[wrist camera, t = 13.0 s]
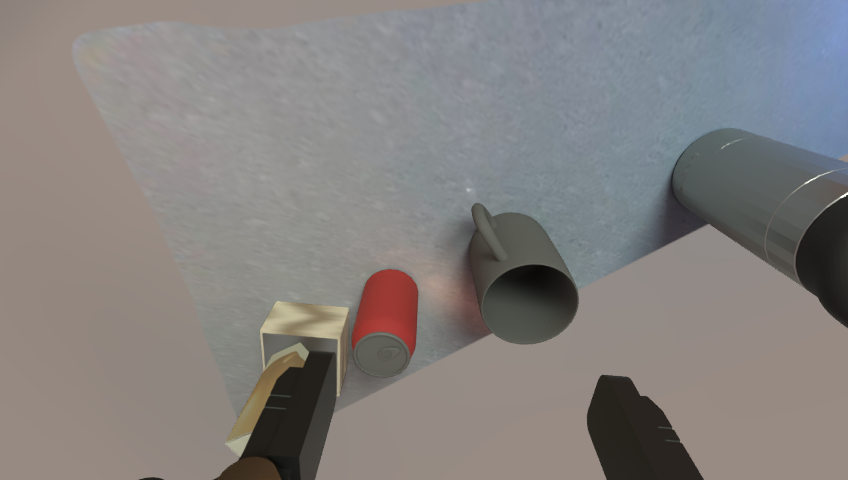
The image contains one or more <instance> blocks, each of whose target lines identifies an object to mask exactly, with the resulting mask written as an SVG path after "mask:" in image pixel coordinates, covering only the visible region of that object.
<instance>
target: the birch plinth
mask: <svg viewBox="0 0 848 480" xmlns="http://www.w3.org/2000/svg"><path fill="white" fill-rule="evenodd" d="M348 330H349V308H346V307H335V306H324V305H312V304H301V303H290V302H278V301H277V302H276V303H275V305H274V307H273V309H272V310H271V312H270V314H269V316H268V317H267V319H266V321H265V323H264V324H263V326H262V328H261V330H260V335H261V347H262V359H263V371H264V369H265V368H266V366H267V364H268V362H269V360H270V358H271V356H272V355H274V354H276V353H278V352H280V351H282V350H284V349H286V348H288V347H291V346H293V345H295V344H297V343H301V344H302V345H303V346H304V347H305V348H306V349H307V350H308V352H310V351H311V350H314V351H326V352H335V353H336V396H340V392H341V388H342V384H343V380H344V376H345V372H346V368H347V364H348Z"/></svg>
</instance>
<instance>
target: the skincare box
mask: <svg viewBox="0 0 848 480" xmlns="http://www.w3.org/2000/svg"><path fill="white" fill-rule="evenodd" d="M308 354H309V352H308V350H307V349H306V348H305V347H304V346H303V345H302V344H301V343H297V344H295V345H293V346H291V347H288V348H286V349H284V350H282V351H280V352H278V353H276V354H274V355H272V356H271V358H270V360H269V362H268V364H267V366H266V368H265V369H264V371H263V373H262V375H261V377H260V379H259V381H258V383H257V384H256V386H255V388H254V390H253V392H252V394H251V396H250V397H249V399H248V401H247V403H246V405H245V407H244V409H243V411H242V412H241V414H240V416H239V418H238V420H237V422H236V424H235V425H234V427H233V429H232V431H231V433H230V435H229V437H228V439H227V441H226V442H225V444H226V445H227V446H228V447H229V448H230V449H231V450H232V451H233V452H234V453H235V454H236V455H237V456H238V457H239V458H240V457H241V455H242V453H243V451H244V449H245V447H246V444H247V442H248V440H249V438H250V436H251V434H252V432H253V429H254V427H255V425H256V423H257V421H258V419H259V416H260V414H261V412H262V410H263V409H264V407H265V404H266V401H267V399H268V397H269V396H270V393H271V391H272V389H273V386H274V384H275V382H276V380H277V378H278V377H279V376H281V375H282V374H283V373H284V372H285V371H286V370H287V369H288V368H289V367H302V368H303V366H304V363H305V361H306V358H307V356H308Z"/></svg>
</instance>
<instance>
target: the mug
mask: <svg viewBox="0 0 848 480" xmlns="http://www.w3.org/2000/svg"><path fill="white" fill-rule="evenodd" d="M471 211H472V216H473V219H474V222H475V225H476V227H477V231H476V232H475V234H474V236H473V238H472V241H471V246H470V258H471V266H472V273H473V278H474V284H475V289H476V294H477V299H478V304H479V308H480V312H481V315H482V318H483V320H484V322H485V324H486V326H487V327H488V328H489V330H490V331H491V332H492V333H494V334H495V335H496V336H497V337H499V338H501V339H503V340H505V341H508V342H511V343H516V344H536V343H540V342H544V341H546V340H549V339H551V338H553V337H555V336H557V335H558V334H560V333H561V332H562V331H563V330H565V329H566V328H567V327H568V326H569V324H570V323H571V322H572V320H573V319H574V316H575V315H576V312H577V308H578V304H579V298H578V290H577V287H576V285H575V282H574V280H573V278H572V276H571V274H570V272H569V270H568V268H567V267H566V265H565V263H564V261H563V259H562V258H561V256H560V254H559V253H558V251H557V249H556V248H555V246H554V244H553V243H552V241H551V239H550V238H549V236H548V235H547V233H546V232H545V230H544V229H543V228H542V226H541V225H540V224H539V223H538V222H537V221H535V220H534V219H532V218H531V217H529V216H526V215H523V214H519V213H503V214H499V215H496V216H494V217H492V216H491V214H490V213H489V212H488V210H487V209H486V208H485V207H484V206H483V205H482V204H480V203H476V204H474V205H473V206H472V209H471Z"/></svg>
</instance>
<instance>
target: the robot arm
mask: <svg viewBox="0 0 848 480" xmlns="http://www.w3.org/2000/svg"><path fill="white" fill-rule="evenodd" d="M672 186H673V191H674V194H675V196H676V198H677V200H678V201H679V202H680V203H681V204H682V205H683V206H684V207H685V208H687V209H688V210H690V211H691V212H693V213H694V214H696V215H697V216H699V217H700V218H702V219H703V220H704V221H706V222H707V223H709V224H710V225H712V226H713V227H715V228H716V229H718V230H719V231H721V232H722V233H723V234H725V235H726V236H728V237H729V238H731V239H732V240H734V241H735V242H737V243H738V244H740V245H741V246H743V247H744V248H746V249H747V250H748V251H750V252H752V253H753V254H754V255H756V256H757V257H759V258H760V259H762V260H763V261H765V262H766V263H768V264H769V265H771V266H772V267H774V268H775V269H777V270H778V271H779V272H781V273H783V274H784V275H786V276H787V277H789V278H790V279H792V280H793V281H795V282H796V283H798V284H799V285H801V286H802V287H804V288H805V289H806V290H808V291H809V292H811V293H812V294H814V295H815V296H817V297H818V298H819V301H820V302H821V304H822V305H823V307H824V308H825V309H826V310H827V311H828V313H830V315H832V316H833V317H834V318H835V319H836V320H838V321H839V322H840V323H841V324H843V325H844V326H846V327H847V328H848V163H847V162H844V161H841V160H838V159H834V158H831V157H828V156H825V155H821V154H818V153H815V152H812V151H808V150H805V149H802V148H798V147H795V146H792V145H789V144H785V143H782V142H779V141H776V140H773V139H770V138H766V137H763V136H760V135H757V134H753V133H750V132H747V131H743V130H740V129H732V128H730V129H721V130H717V131H714V132H711V133H709V134H707V135H705V136H703V137H701V138H699V139H698V140H697V141H695V142H694V143H692V144H691V145H690V146H689V147H688V148H687V149H686V150H685V152H684V153H683V155H682V156H681V157H680V159H679V160H678V163H677V165H676V167H675V170H674V174H673V181H672ZM335 401H336V353H335V352H326V351H314V350H311V351H310V352H309V354H308V356H307V358H306V361H305V363H304V366H303V368H302V367H289V368H288V369H287V370H286V371H285V372H284V373H283V374H282V375H281V376H279V377H278V378H277V380H276V382H275V384H274V386H273V389H272V391H271V393H270V396H269V397H268V399H267V401H266V404H265V407H264V409H263V410H262V412H261V414H260V416H259V419H258V421H257V423H256V425H255V427H254V429H253V432H252V434H251V436H250V438H249V440H248V442H247V444H246V447H245V449H244V451H243V453H242V455H241V457H240V458H239V460H238V461H237V462H235V463H233V464H232V465H230V466H229V467H227V468H226V469H225V470H224V471H223V472H222V473H221V475H220V476H219V477H218V478H216V479H214V480H315V477H316V473H317V470H318V466H319V462H320V459H321V455H322V451H323V448H324V444H325V441H326V437H327V433H328V430H329V426H330V422H331V419H332V415H333V411H334V407H335ZM587 426H588V431H589V434H590V437H591V439H592V442H593V445H594V447H595V450H596V452H597V455H598V458H599V461H600V463H601V466H602V468H603V471H604V474H605V476H606V479H607V480H704V479H703V478H702V476H701V474H700V473H699V471H698V469H697V468H696V466H695V464H694V463H693V461H692V459H691V457H690V456H689V454H688V453H687V451H686V449H685V448H684V446H683V444H682V443H680V439H679V437H678V436H677V434H676V432H675V431H674V430H672V426H671V424H670V422H669V421H668V419H667V418H666V416H665V414H664V412H663V411H662V410H661V409H660V408H659V407H658V406H657V405H656V404H655V403H654V402H653V401H652V400H650V399H649V398H648V397H647V396H640V395H639V393H638V391H637V389H636V387H635V386H634V384H633V382H632V380H631V379H630V378H629V377H622V376H611V375H610V376H609V375H602V376H600V378H599V380H598V383H597V386H596V388H595V391H594V395H593V397H592V400H591V404H590V406H589V409H588V414H587ZM140 480H163V479H160V478H154V477H152V478H144V479H140Z"/></svg>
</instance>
